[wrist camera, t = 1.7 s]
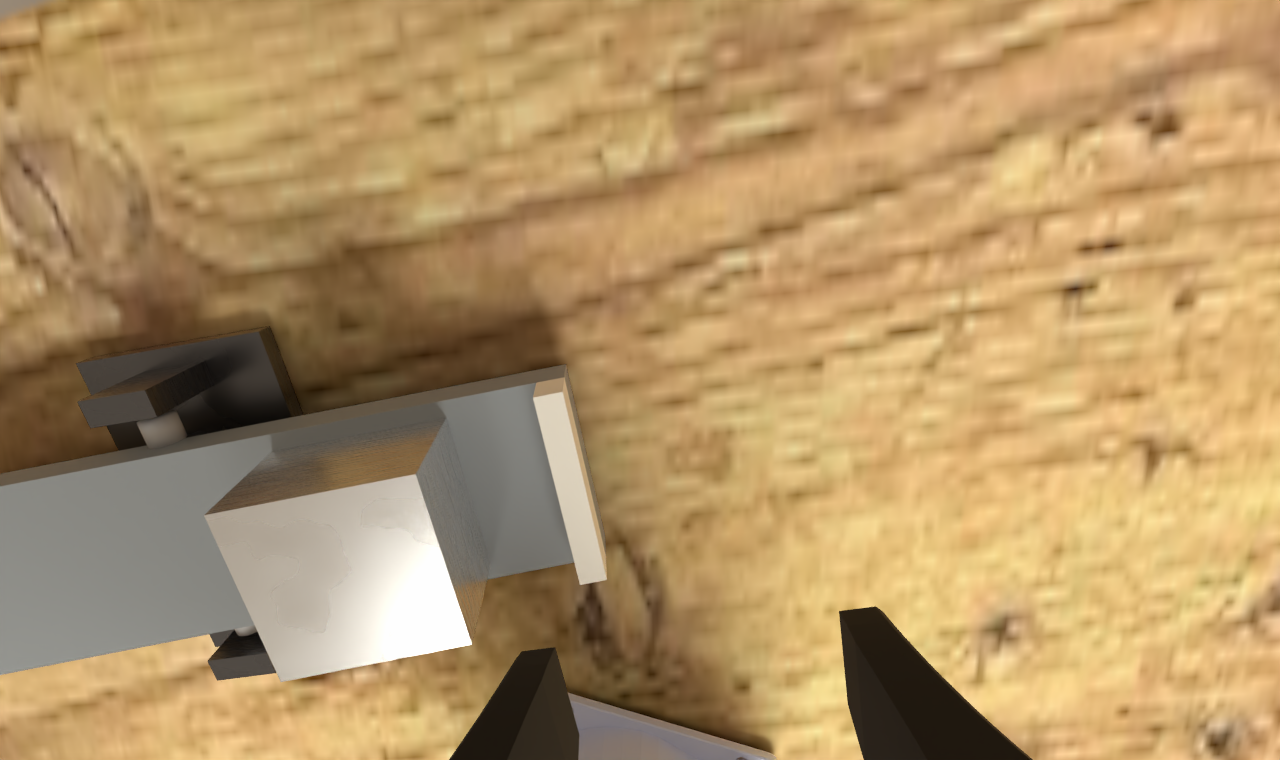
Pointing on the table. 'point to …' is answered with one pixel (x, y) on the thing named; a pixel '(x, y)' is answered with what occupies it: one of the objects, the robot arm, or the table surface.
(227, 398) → the pivot stand
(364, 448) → the steel weight
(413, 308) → the table surface
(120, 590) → the seesaw beam
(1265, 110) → the table surface
